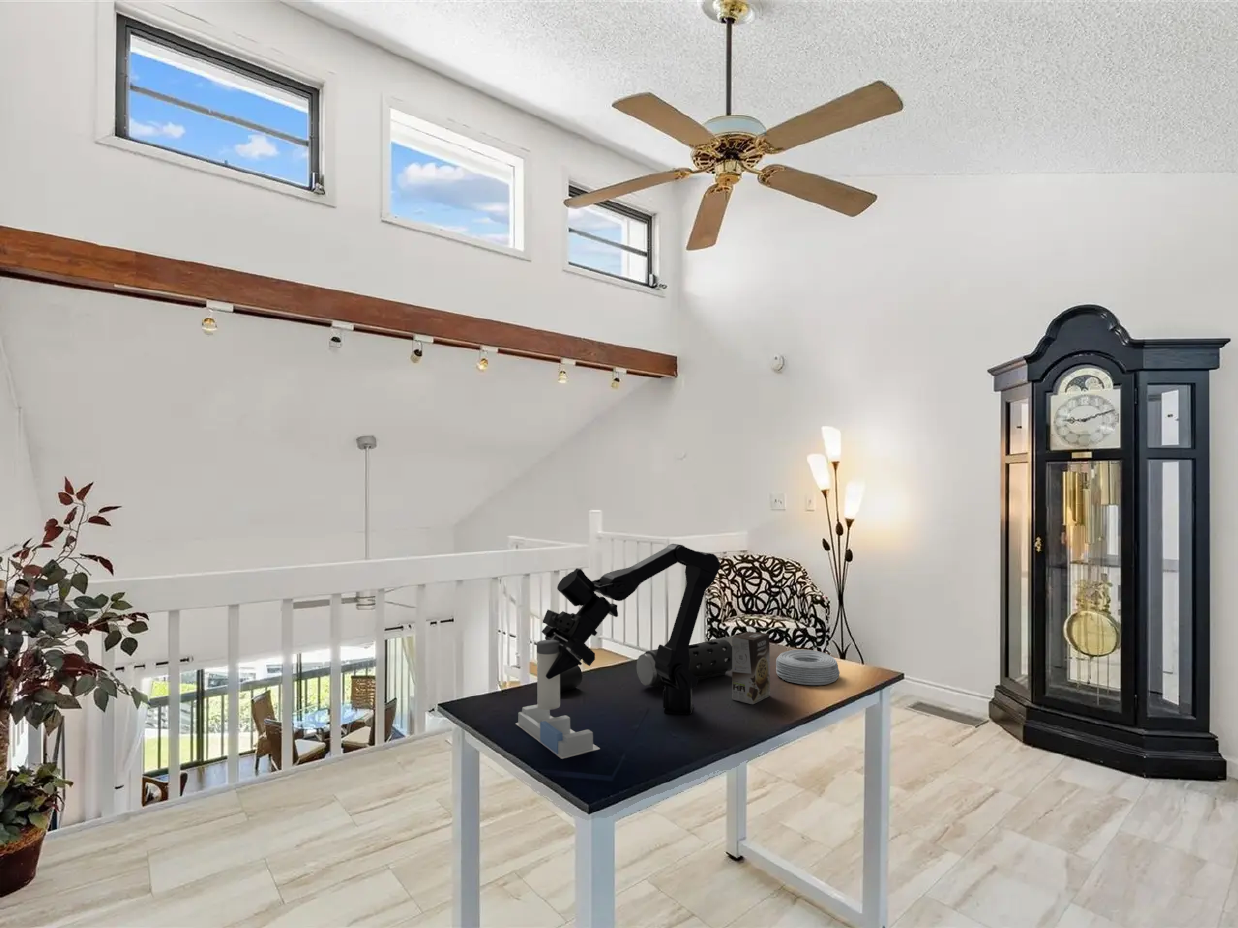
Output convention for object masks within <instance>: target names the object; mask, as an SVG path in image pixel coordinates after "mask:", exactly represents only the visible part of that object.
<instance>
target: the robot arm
mask: <svg viewBox="0 0 1238 928" xmlns="http://www.w3.org/2000/svg"><path fill="white" fill-rule="evenodd" d="M677 563H679V565H683V566H685V569H684V570H685V571H684V575H685V582H686V583H685V584H686V585H685V589H684V592H683V596H682V599H681V602H680V605H679V608H678V611H677V614H676V617H675V620H674V623H673V624H674V625H673V628H672V631H671V634H670V637H669V639H668V641H667V642H666V643H665V644H664V645H663V644H659V645H658V647H657V649H658V651H657V655H656V657H655V658H654V661H655V669H656V671H657V673H658V674H659V675H660V677H661V680H662V681H663V682H666V685H665V687H664V689H663V691H662V708H663V713H664V714H674V715H675V714H676V715H687V716H688V715H689V716H690V715H691V714H692V711H693V709H694V704H693V689H696V688H697V684H698V682H699V679H697V678H696V677H695V676H694V675H693V674H692V673H691V672H690V671H689V666H690V654H689V645H690V643H691V641H692V637H693V636H692V635H693V632H694V630H695V627H696V626H695V625H696V624H697V619H698V617H699V614H700V613H699V612H700V609H701V607H702V603H703V600H704V596H705V593H706V591H707V589H708V588H709V587H710V586H711V585H712V584H713V582H714V581H715V580H716V577H717V575H718V573H719V571H720V567H721V562H720V560H719V558H718V556H717V555H715V554H714V553H710V552H703V551H699V550H698V551H697V550H694V549H691V548H689V547H686V546H685V545H683V544H678V543H671V544H669V545H667V546H666V547H665V548H663V549H661V550H660V551H658V552H656V553H653V554H652V555H650V556H648V557H647V558H645V559H642V560H641V561H639V562H637V563H635V564H633V565H632V566H629V567H626V568H621V569H616V570H614V571H609V572H607V573H604V574H603V575H602V576H601V577H600V578H599V579H594V580H591V579H590V578H589V577H588V576H587V575H586V573H585V571H583V570H582V569H580V568H577V567H576V568H575V569H574V570H573V571H572V572H569V573H568V574H566V576H563V577H562V579H561V580H559V582H558V584H557V588H556V589H557V591H559V593H561V595H562V596H564V598H566V600H568V602H570V603H571V604H572V606H574V607H578V606H581V607H580V608H579V610H578V611H577V612H576V613H574V612H572V613H568V612H565V611H563V610H562V611H561V612H559V613H558V612H556V611H553V610H551V609H547V610H546V613H545V615H544V617H543V620H542V624H545V625H546V626H545V627H544V628H543V629H542V631H541V633H542V635H544V640H557V641H559V642H560V645H559V655H558V657H557V658H556V660H555V661H554V663H553V664H552V666H551V668H550V669H549V671H548V672H547V674H546V677H547V678H548V679H551V678H553V677H555V676H557V675H559V674H561V673H563V672H565V671H567V670H569V669H571V668H573V667H576V666H582V662H583V663H584V664H585V665H587V666H589V667H591V665H592V664H593V663H594V661H595V660H596V653H595V651H594V650H592V649H591V648H590V647H589V646H588V645H587V644H586V642H587V641H588V640H589V639H590V638H591V636H594V637H596V635H597V634H598V632H597V631H596V630H597V629H598V627H599V626H600V625H601V624H602V623H603V621H604V620H605V619H606V618H607V616H608V615H610V616H612V617H615V618H618V616H619V612H618V604H616V603H612V602H610V601H609V600H608V599H611V600H615V601H616V602H622V601H624V600H625V599H627V598H628V597H629V596H631V595H632V594H633V593H634V592H636V591H637V588H639V586H640V585H641V584H642V583H644V582H646V581H647V580H649V579H650V578H652V577H655V576H656V575H658V574H659V573H662V572H663V571H665V570H667V569H668V568H670V567H672V566H674V565H675V564H677ZM597 593H598V594H601V595H602V596H599V595H597ZM607 598H608V599H607ZM581 661H582V662H581Z"/></svg>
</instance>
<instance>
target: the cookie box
mask: <svg viewBox="0 0 1238 928" xmlns="http://www.w3.org/2000/svg"><path fill="white" fill-rule="evenodd" d="M731 639H732V640H731V642H732V643H731V646H732V670H731V677H732V679H731V681H732V682H731V687H732V688H731V694H732V696H731V699H732V700H734V701H738V702H741V703H746V704H748V705H749V704H750V705H754V704H756V703H759V702H761V701H762V700H765V699H766V698H768V697H770V696H771V683H770V682H771V680H770V679H771V677H770V676H771V673H770V672H771V669H770V668H771V666H770V665H771V664H770V658H771V657H770V651H771V650H770V634H769V633H765V632H758V631H757V632H755V631H750V630H749V631H746V632H742V633H740V634H737V635H733V636H731Z"/></svg>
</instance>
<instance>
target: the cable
mask: <svg viewBox="0 0 1238 928" xmlns="http://www.w3.org/2000/svg"><path fill="white" fill-rule="evenodd" d="M775 666H776V667H775V669H776V670H775V672H776V676H778V677H779V678H780V679H781V678H782V679H781V680H783V681H784V680H785V682H790V683H793V684H798V685H807V686H824V685H825V686H826V685H828V684H831V683H835V682H836V681H837V680H838V679H839V677H840V675H841V674H840V670H839V664H838V661H837V659H835V657H833V656H831V655H830V654H828V653H826V652H822V651H818V650H813V649H801V648H800V649H798V648H796V649H791V650H786V651H783V652H781V653H780V654H779V655H778V656H777V657H776V660H775Z"/></svg>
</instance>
